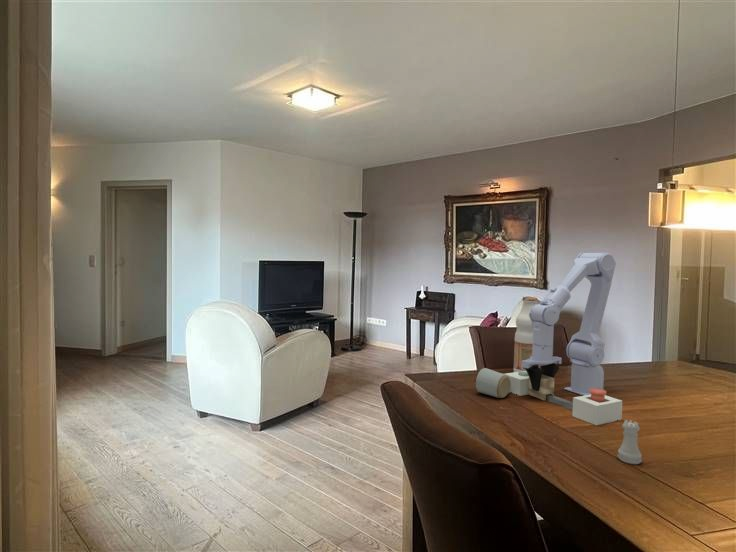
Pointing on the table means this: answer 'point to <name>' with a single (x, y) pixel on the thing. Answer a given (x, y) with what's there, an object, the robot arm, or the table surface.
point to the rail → (559, 401)
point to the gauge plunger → (597, 394)
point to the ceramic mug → (492, 383)
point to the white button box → (519, 382)
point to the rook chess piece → (630, 444)
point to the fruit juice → (524, 334)
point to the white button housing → (597, 409)
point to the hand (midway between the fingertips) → (541, 389)
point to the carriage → (543, 388)
